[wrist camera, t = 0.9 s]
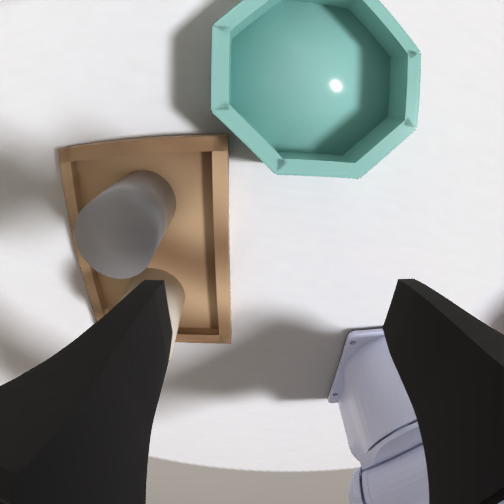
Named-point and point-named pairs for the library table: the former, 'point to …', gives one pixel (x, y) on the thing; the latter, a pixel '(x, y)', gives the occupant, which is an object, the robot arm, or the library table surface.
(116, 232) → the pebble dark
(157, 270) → the pebble light
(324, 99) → the dish
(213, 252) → the tray
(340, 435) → the library table surface
